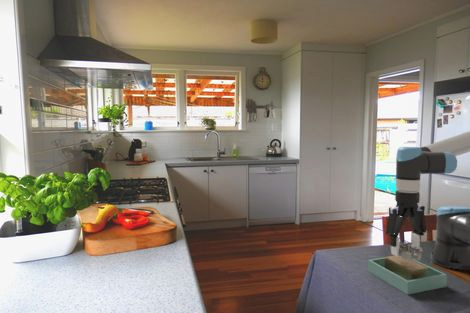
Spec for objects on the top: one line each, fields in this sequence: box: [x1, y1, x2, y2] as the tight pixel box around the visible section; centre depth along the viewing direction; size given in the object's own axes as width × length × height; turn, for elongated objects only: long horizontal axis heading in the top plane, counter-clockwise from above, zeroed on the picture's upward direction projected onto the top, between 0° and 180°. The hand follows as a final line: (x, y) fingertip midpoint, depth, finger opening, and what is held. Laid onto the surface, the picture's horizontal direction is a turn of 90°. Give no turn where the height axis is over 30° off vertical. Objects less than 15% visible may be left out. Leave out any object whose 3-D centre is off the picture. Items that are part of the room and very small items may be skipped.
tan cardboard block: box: [385, 255, 428, 281], centre depth 114 cm, size 7×12×6 cm, turn 17°
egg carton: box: [389, 240, 424, 261], centre depth 113 cm, size 11×8×4 cm
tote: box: [367, 256, 448, 296], centre depth 114 cm, size 17×19×5 cm
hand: (405, 253), depth 113 cm, fingers closed on egg carton, 8 cm apart
